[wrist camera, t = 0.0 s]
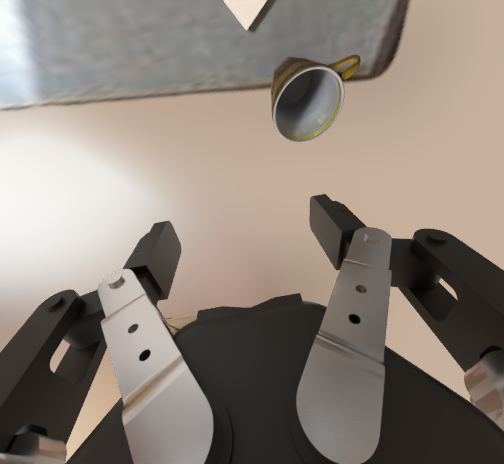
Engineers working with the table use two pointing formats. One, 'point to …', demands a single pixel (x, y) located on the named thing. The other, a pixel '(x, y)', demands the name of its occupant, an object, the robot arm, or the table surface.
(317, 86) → the ceramic cup
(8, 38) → the table surface
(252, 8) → the pad
